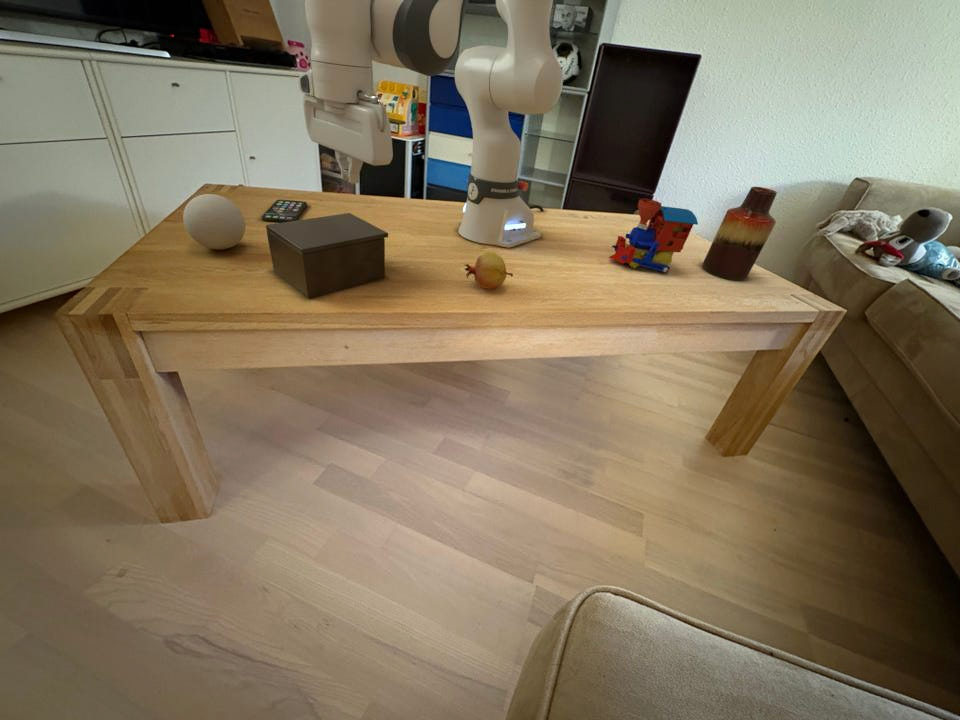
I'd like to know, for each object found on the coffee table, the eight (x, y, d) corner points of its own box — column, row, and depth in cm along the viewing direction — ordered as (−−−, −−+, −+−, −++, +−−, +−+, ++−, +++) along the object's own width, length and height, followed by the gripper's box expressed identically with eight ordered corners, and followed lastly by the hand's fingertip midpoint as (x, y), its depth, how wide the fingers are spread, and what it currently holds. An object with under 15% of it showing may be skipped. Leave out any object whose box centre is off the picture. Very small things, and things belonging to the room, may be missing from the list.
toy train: (676, 276, 100) (703, 213, 91) (613, 270, 98) (635, 205, 89) (659, 259, 108) (682, 200, 100) (601, 253, 106) (619, 193, 98)
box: (348, 255, 86) (346, 217, 81) (385, 278, 80) (384, 238, 75) (273, 271, 76) (266, 229, 72) (308, 298, 70) (302, 254, 65)
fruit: (512, 252, 83) (463, 248, 81) (521, 257, 77) (468, 253, 75) (507, 286, 86) (460, 283, 83) (516, 293, 79) (465, 290, 77)
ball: (196, 260, 76) (179, 204, 70) (187, 241, 82) (172, 188, 76) (255, 253, 81) (245, 201, 75) (243, 236, 87) (233, 186, 81)
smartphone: (260, 217, 95) (277, 199, 107) (260, 220, 96) (277, 201, 108) (294, 220, 97) (307, 201, 108) (294, 223, 97) (307, 204, 109)
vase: (692, 264, 109) (729, 182, 97) (722, 262, 112) (760, 184, 101) (725, 281, 101) (768, 195, 89) (755, 280, 105) (801, 196, 93)
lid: (350, 216, 82) (349, 212, 81) (388, 237, 75) (388, 232, 75) (266, 229, 71) (265, 224, 71) (302, 254, 65) (301, 249, 65)
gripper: (402, 97, 60) (402, 195, 68) (328, 79, 71) (335, 166, 79) (365, 96, 56) (370, 200, 65) (292, 77, 67) (304, 169, 75)
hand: (350, 181), depth 72 cm, fingers closed
